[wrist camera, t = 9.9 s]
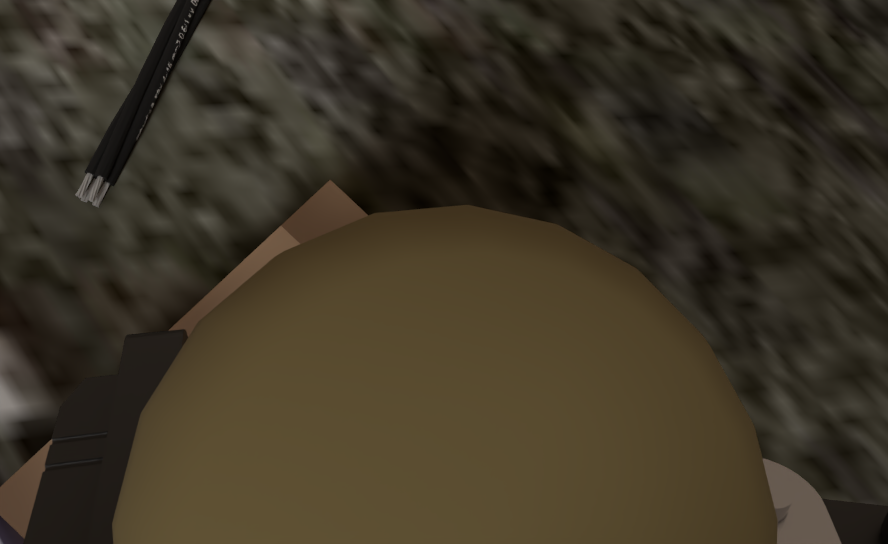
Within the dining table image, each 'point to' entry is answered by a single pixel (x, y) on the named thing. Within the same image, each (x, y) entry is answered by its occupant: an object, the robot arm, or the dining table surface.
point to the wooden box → (305, 224)
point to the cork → (445, 401)
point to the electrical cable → (140, 99)
